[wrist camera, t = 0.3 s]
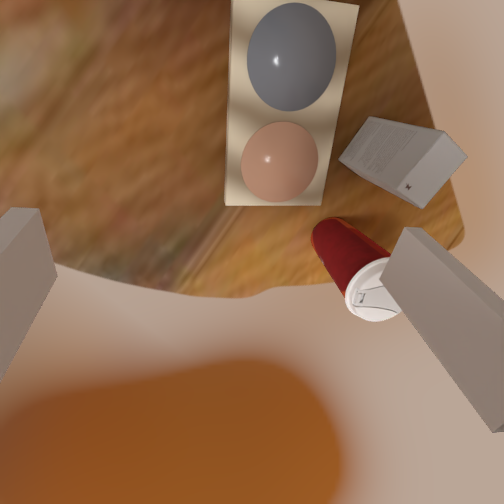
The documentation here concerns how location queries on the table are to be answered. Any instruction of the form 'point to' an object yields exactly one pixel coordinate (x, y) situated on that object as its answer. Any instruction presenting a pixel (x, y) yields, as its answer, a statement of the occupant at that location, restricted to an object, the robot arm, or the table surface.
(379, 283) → the paper cup
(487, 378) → the robot arm
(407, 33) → the table surface
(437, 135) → the skincare box
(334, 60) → the slate pad
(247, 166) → the terracotta pad
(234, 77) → the birch board
